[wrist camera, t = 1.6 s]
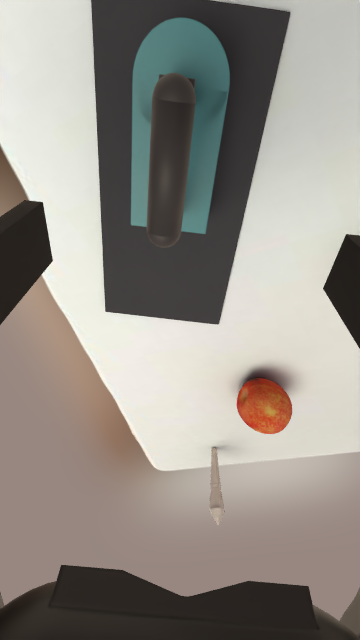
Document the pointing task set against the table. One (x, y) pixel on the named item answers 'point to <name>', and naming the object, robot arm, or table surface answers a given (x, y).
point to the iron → (176, 128)
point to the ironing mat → (232, 166)
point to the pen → (216, 490)
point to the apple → (264, 406)
